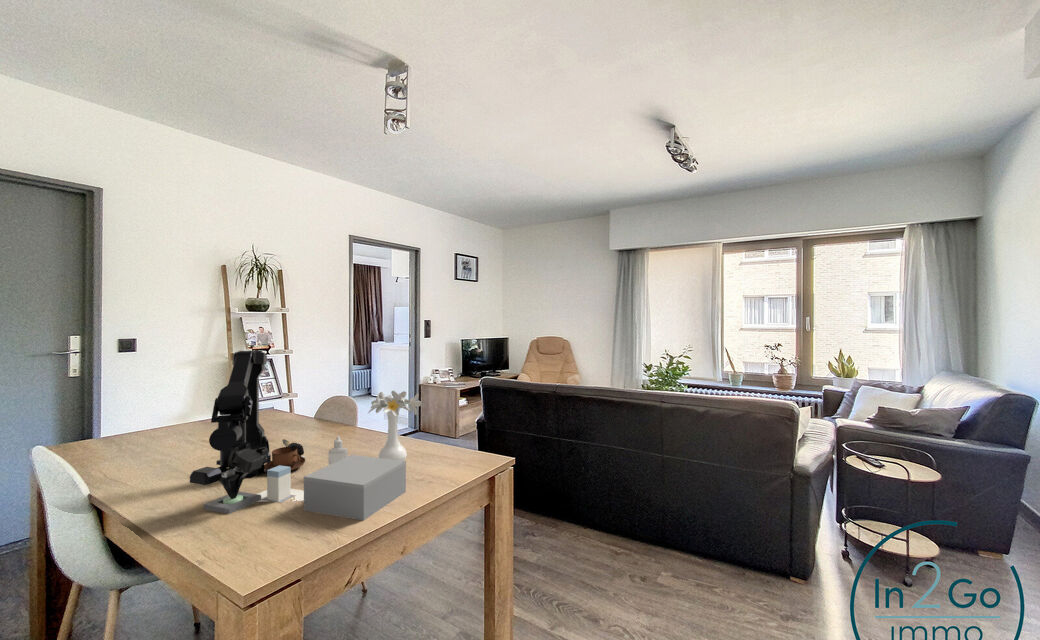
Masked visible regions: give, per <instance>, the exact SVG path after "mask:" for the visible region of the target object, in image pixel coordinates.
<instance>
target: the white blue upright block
mask: <svg viewBox="0 0 1040 640" xmlns="http://www.w3.org/2000/svg"><path fill="white" fill-rule="evenodd" d="M291 471H292V470H291V467H288V466H281V465H279V466H277V467H274V468H271V469H269V470H267V472H266V475H267V476H266V486H267V487H266V490H267V499H268V500H274V501H280V500H282V499H284V498H286V497H289V496H291V489H292V487H291V486H292V485H291V484H292V483H291V481H292V480H291V475H292V472H291Z"/></svg>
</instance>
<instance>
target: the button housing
mask: <svg viewBox="0 0 1040 640" xmlns="http://www.w3.org/2000/svg"><path fill="white" fill-rule="evenodd" d="M237 495H242V496H243V500H241V501H239V502H237V503H234V504H232V505H229V504H223V500H224V499H225V498H227V497H229V495H228V494H226V495H224V496H220V497H218V498H216V499H214V500H211V501H208V502H206V503H204V504H203V510H207V511H211V512H212V511H213V512H217V513H223V514H229V515H231V514H232V513H235V512H237V511H240V510H242V509H243V508H246V507H248V506H250V505H252V504H254V503H258V502H257V501H259V500H261V495H258V493H252V492H245V491H240V490H239V491H238V494H237Z"/></svg>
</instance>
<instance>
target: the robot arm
mask: <svg viewBox="0 0 1040 640" xmlns="http://www.w3.org/2000/svg"><path fill="white" fill-rule="evenodd" d="M267 361H268V355H267V353H266V352H263V350H262V349H257V350H238V351H237V352H236V351H235V352H233V353H232V369H231V373H230V376H229V380H228V382H227V383H228V384H227V385H226V386H224V387H223V388H221V389H220V390H219V393H218V395H217V397H216V398H215V400H214V403H213V409H212V413H211V419H210V423H211V424H214V423H217V428H216V429H215V430H213V431H212V433H211V434H210V436H209V439H208V442H209V445H210V447H211V448H212V449H214V450H216V451H219V454H220V455H219V459H218V460H216V462H215V463H216V466H218V467H211V466H205V467H201V468H198V469H195V470H193V471H192V472H191V473H190V475H189V484H190V483H191V484H195V485H196V484H197V485H201V486H209V485H211V484H214V483H216V482H219V483H220V484H221V485H222V487H223V488H224V490H225V492H226V495H229V497H230V498H231V499H234V498H236V497H237V494H238V491H240V489H241V487H242V484H243V481H244V479H253V478H255V477H258V476H261V475H263V474H267V471H266V470H265V469H264V465H265V464H266V463H268V462H271V461H272V454H271V453H270V441H269V439H268V437H267V436H266V435H265V434H266V433H265V429H264V427H263V426H262V425H261V424H260V421H259V420H260V418H259V417H260V414H259V413H260V409H259V408H260V406H259V405H260V403H259V402H260V399H259V398H260V395H259V394H260V386H259V385H260V380H259V379H260V376H261V375H262V373H263V372H264V370H265V365H267Z"/></svg>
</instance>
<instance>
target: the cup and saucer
mask: <svg viewBox="0 0 1040 640" xmlns="http://www.w3.org/2000/svg"><path fill="white" fill-rule="evenodd" d="M297 457H298V460H297ZM303 457H304V456H303ZM303 457H300V456H299V455H298V454H297V448H295V450H294V451H292V449H291V448H289V447H286V446H283V447H279V448H276V449H274V450H272V451H271V462H268V463H265V464H264V470H266V471H267V470H269V469H271V468H274V467H277V466H279V465H281V466H288V467H291V471H293V470H297V469H299V468H300V467H302V466H303V465H304V464H305V463H306V457H305V458H303Z"/></svg>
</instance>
